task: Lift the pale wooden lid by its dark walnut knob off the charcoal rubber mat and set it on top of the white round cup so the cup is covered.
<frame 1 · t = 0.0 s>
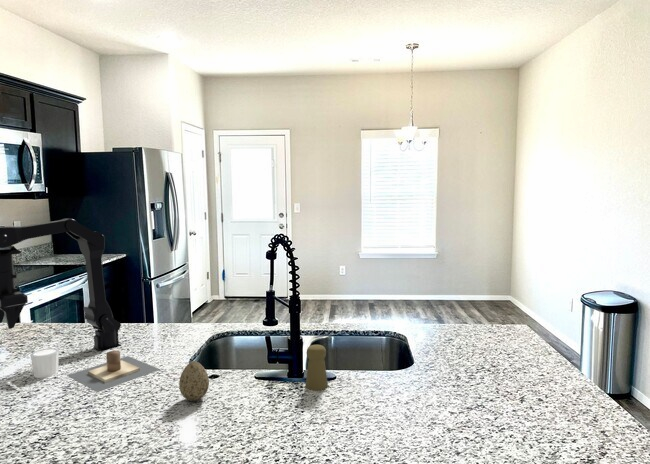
hand: (5, 325, 124), 15 cm above the countertop, tool pointing down, fingers open, 9 cm apart
white round cup: (46, 376, 125), on the countertop
decorative egg: (194, 400, 110), on the countertop
mat: (114, 374, 126), on the countertop
lid: (114, 372, 126), point 1 cm above the countertop, touching mat
cork: (316, 386, 117), on the countertop
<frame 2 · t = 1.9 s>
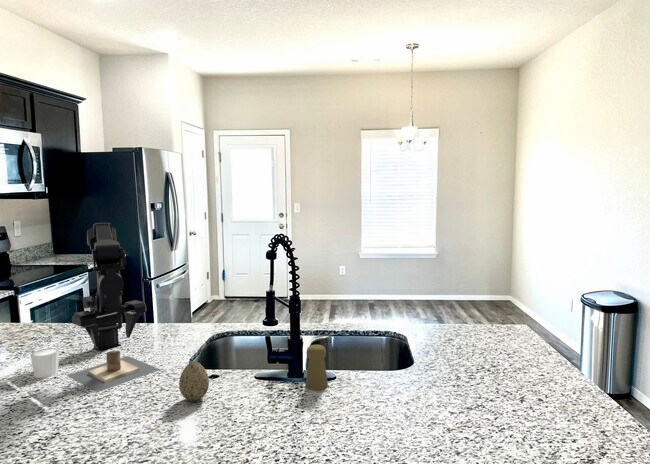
hand: (112, 342, 125), 9 cm above the countertop, tool pointing down, fingers open, 9 cm apart
nothing on the countertop moved.
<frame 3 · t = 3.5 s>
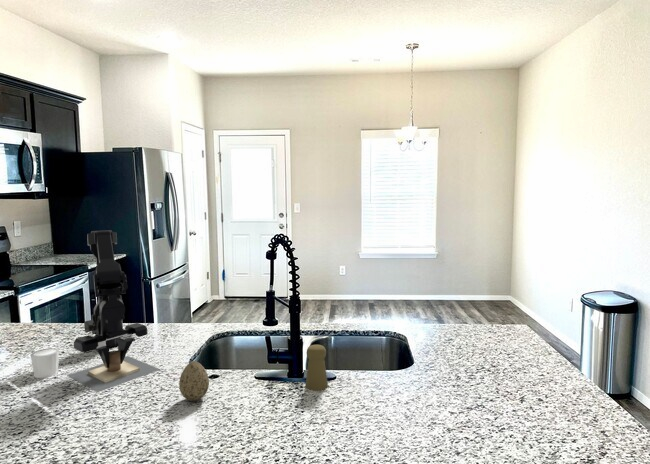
hand: (113, 365, 125), 3 cm above the countertop, tool pointing down, fingers closed on lid, 3 cm apart
lid: (114, 372, 126), point 1 cm above the countertop, touching gripper, mat
everything else where it was.
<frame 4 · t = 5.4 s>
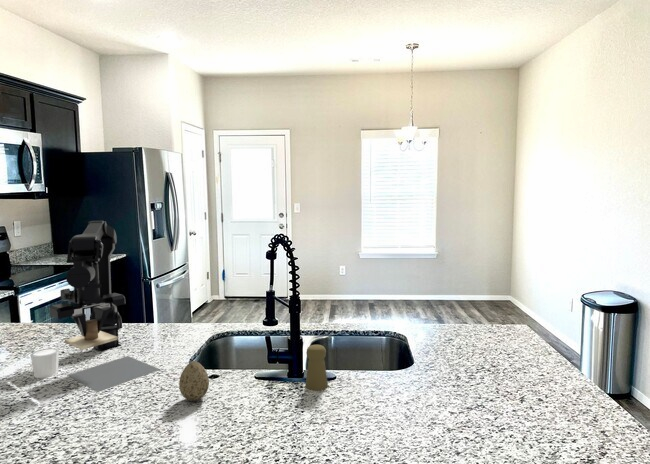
hand: (90, 334, 125), 12 cm above the countertop, tool pointing down, fingers closed on lid, 3 cm apart
lid: (91, 341, 125), point 10 cm above the countertop, touching gripper
everything else where it was.
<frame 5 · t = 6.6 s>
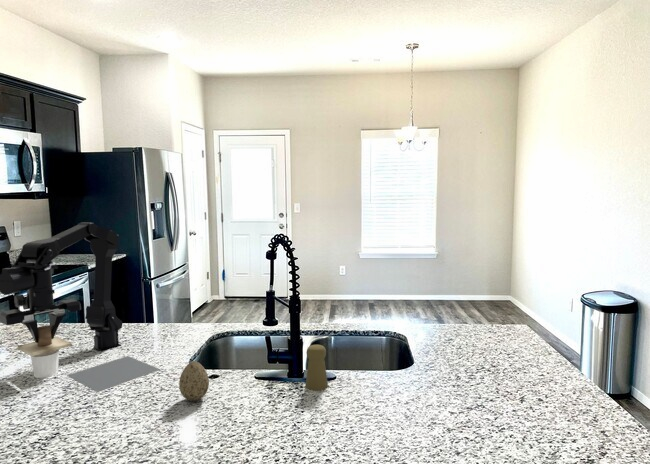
hand: (44, 340, 124), 10 cm above the countertop, tool pointing down, fingers closed on lid, 3 cm apart
lid: (44, 347, 124), point 8 cm above the countertop, touching gripper
everything else where it was.
when the fingers open (10 cm above the countertop, at t = 7.2 s): lid drops 1 cm, resting on white round cup.
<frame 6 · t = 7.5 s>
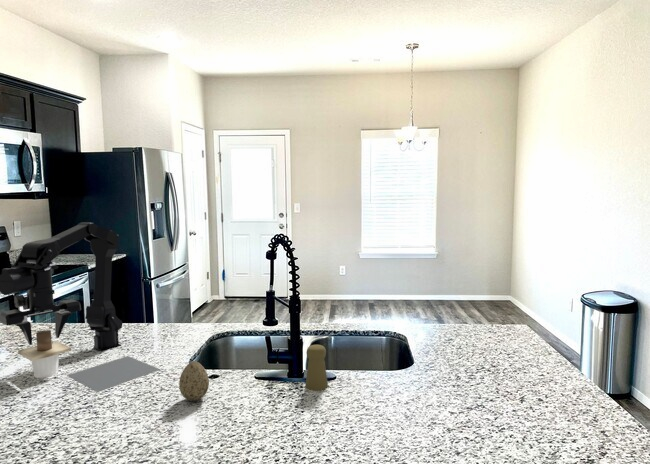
hand: (44, 340, 124), 10 cm above the countertop, tool pointing down, fingers open, 7 cm apart
white round cup: (46, 376, 125), on the countertop, touching lid
lid: (44, 351, 125), point 7 cm above the countertop, touching white round cup
everything else where it was.
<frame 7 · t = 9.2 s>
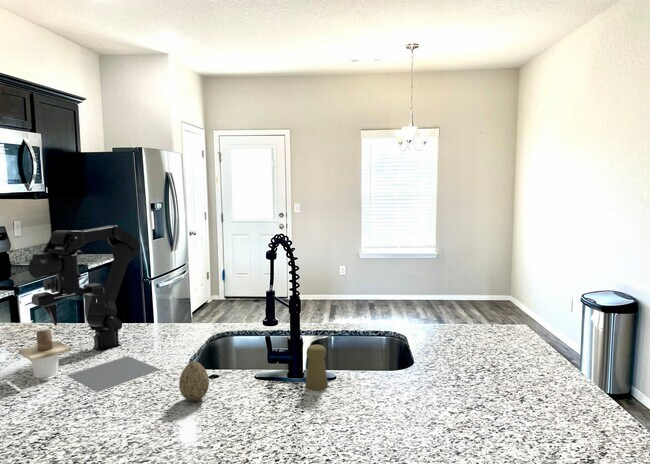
hand: (71, 321, 134), 13 cm above the countertop, tool pointing down, fingers open, 9 cm apart
nothing on the countertop moved.
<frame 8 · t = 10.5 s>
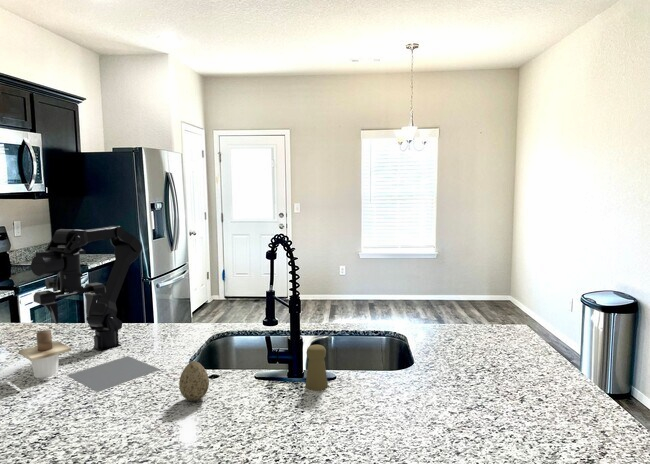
hand: (72, 320, 135), 13 cm above the countertop, tool pointing down, fingers open, 9 cm apart
nothing on the countertop moved.
at the end: lid 0.1 cm off-centre on the white round cup, point 7.2 cm above the white round cup's base; white round cup tilted 0°; the gripper is holding nothing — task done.
